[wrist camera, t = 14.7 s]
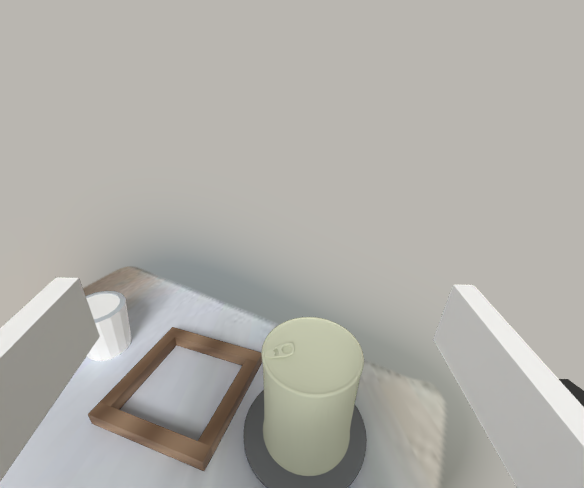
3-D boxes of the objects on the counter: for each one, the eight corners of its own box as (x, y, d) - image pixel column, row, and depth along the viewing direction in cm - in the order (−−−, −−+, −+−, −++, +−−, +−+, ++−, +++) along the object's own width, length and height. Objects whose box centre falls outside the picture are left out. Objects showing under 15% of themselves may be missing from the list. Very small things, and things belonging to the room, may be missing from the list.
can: (260, 394, 37) (258, 315, 31) (336, 386, 38) (347, 309, 32) (265, 483, 29) (263, 398, 23) (361, 469, 30) (382, 386, 24)
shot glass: (92, 330, 46) (78, 292, 43) (141, 325, 47) (131, 288, 44) (71, 368, 40) (53, 326, 37) (128, 361, 41) (116, 321, 38)
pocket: (92, 423, 34) (87, 414, 33) (174, 335, 45) (172, 326, 45) (204, 471, 30) (202, 462, 29) (262, 361, 42) (262, 353, 41)
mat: (220, 471, 30) (220, 468, 30) (271, 367, 41) (271, 364, 40) (355, 528, 26) (356, 524, 26) (371, 397, 37) (372, 394, 37)
